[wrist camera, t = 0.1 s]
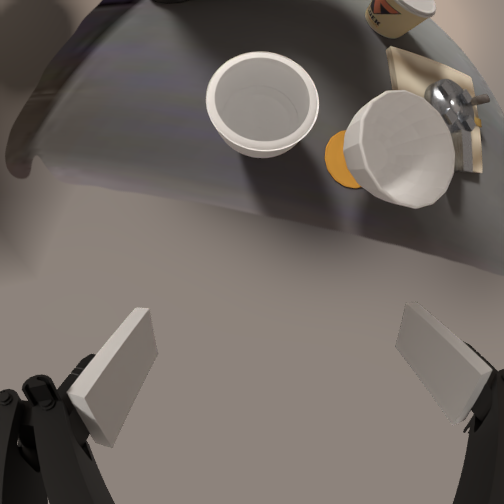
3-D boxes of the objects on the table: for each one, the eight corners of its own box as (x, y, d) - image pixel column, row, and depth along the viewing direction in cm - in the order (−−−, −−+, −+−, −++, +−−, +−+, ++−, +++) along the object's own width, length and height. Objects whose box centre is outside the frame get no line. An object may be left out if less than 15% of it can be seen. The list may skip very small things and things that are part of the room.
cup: (299, 159, 37) (332, 142, 20) (347, 106, 35) (400, 68, 18) (355, 213, 39) (416, 234, 22) (398, 160, 37) (469, 155, 20)
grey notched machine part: (420, 76, 31) (436, 68, 26) (460, 91, 30) (476, 86, 26) (428, 166, 34) (447, 166, 30) (467, 174, 34) (486, 175, 30)
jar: (309, 135, 36) (341, 109, 22) (254, 178, 38) (256, 174, 23) (262, 83, 34) (267, 33, 20) (207, 124, 36) (182, 92, 21)
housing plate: (385, 50, 32) (403, 34, 25) (466, 80, 31) (487, 72, 25) (397, 160, 37) (421, 158, 30) (477, 175, 36) (501, 177, 30)
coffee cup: (354, 1, 29) (377, -34, 17) (397, 10, 29) (425, -18, 17) (367, 37, 31) (396, 4, 19) (411, 46, 31) (445, 22, 19)
